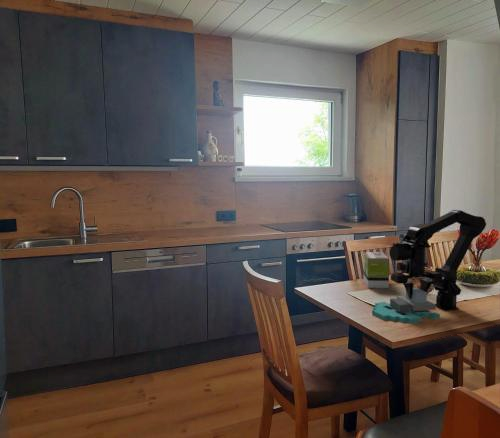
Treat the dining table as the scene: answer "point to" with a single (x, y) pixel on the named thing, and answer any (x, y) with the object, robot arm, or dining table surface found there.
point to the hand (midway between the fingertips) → (415, 298)
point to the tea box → (376, 270)
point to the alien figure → (400, 314)
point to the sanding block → (418, 300)
